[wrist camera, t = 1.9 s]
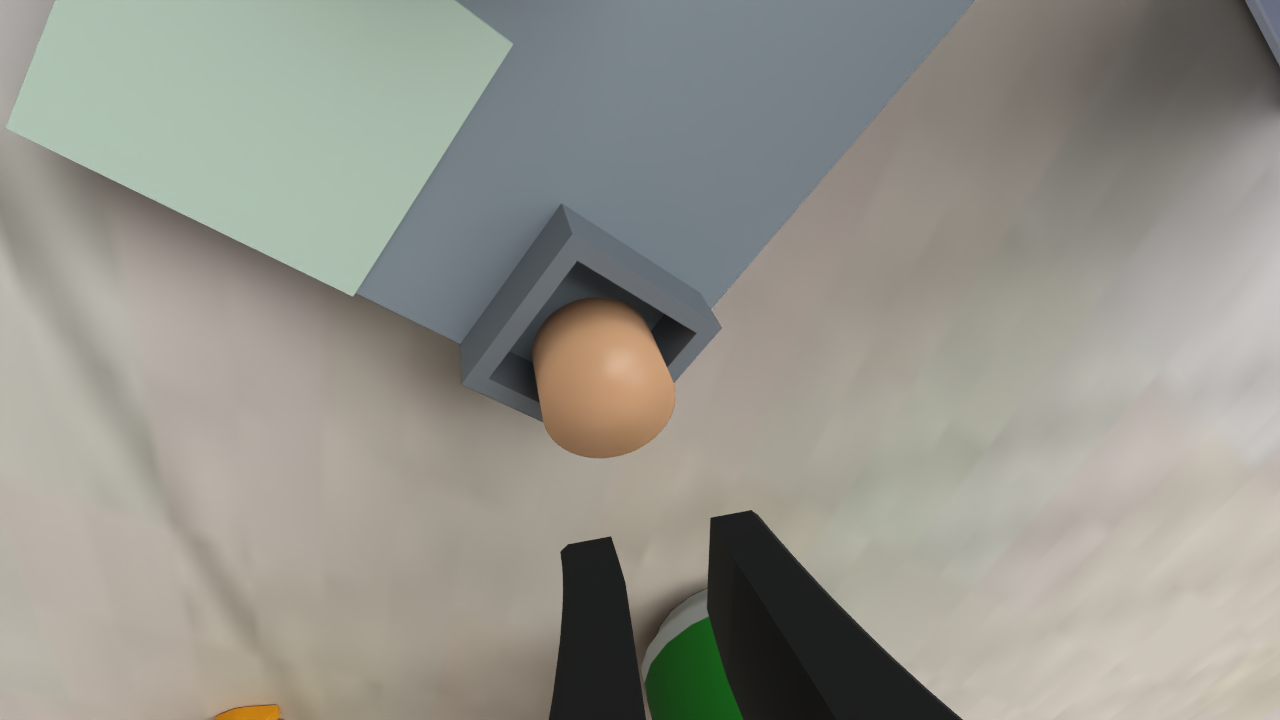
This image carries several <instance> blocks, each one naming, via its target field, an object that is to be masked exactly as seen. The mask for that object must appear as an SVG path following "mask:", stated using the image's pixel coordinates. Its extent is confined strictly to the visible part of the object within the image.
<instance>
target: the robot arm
mask: <svg viewBox="0 0 1280 720" xmlns="http://www.w3.org/2000/svg"><path fill="white" fill-rule="evenodd" d="M1245 1H1246V3H1247V5H1248V7H1249V9H1250V11H1251V13H1252V14H1253V16H1254V18H1255V20H1256V22H1257V24H1258V26H1259V28H1260V30H1261V32H1262V33H1263V35H1264V37H1265V39H1266V41H1267V43H1268V45H1269V47H1270V49H1271V51H1272V52H1273V54H1274V56H1275V58H1276V60H1277V62H1278V64H1279V66H1280V0H1245ZM561 560H562V569H563V609H562V623H561V636H560V646H559V653H558V661H557V669H556V676H555V684H554V692H553V698H552V704H551V710H550V716H549V720H646V717H645V710H644V704H643V697H642V691H641V684H640V677H639V671H638V664H637V657H636V651H635V644H634V637H633V631H632V624H631V618H630V611H629V604H628V598H627V591H626V585H625V580H624V577H623V573H622V570H621V567H620V563H619V560H618V557H617V554H616V551H615V547H614V544H613V541H612V538H611V537H606V538H600V539H595V540H590V541H584V542H579V543H573V544H568V545H567V546H566V547H565V548H564V549H563V550H562V551H561ZM707 611H708V615H709V619H710V622H711V626H712V629H713V633H714V636H715V640H716V644H717V647H718V651H719V654H720V657H721V661H722V664H723V667H724V671H725V674H726V678H727V680H728V683H729V685H730V688H731V690H732V693H733V695H734V698H735V700H736V703H737V705H738V708H739V710H740V713H741V715H742V718H743V720H963V719H961V718H960V717H959V716H958V715H957V714H955V713H954V712H953V711H952V710H951V709H950V708H948V707H947V706H946V705H945V704H944V703H943V702H941V701H940V700H939V699H938V698H937V697H936V696H935V695H933V694H932V693H931V692H930V691H929V690H928V689H927V688H925V687H924V686H923V685H922V684H921V683H920V682H919V681H918V680H917V679H916V678H915V677H913V676H912V675H911V674H910V673H909V672H908V671H907V670H906V669H905V668H904V667H902V666H901V665H900V664H899V663H898V662H897V661H896V660H895V659H894V658H893V657H892V656H891V655H890V654H888V653H887V652H886V651H885V650H884V649H883V648H882V647H881V646H880V645H879V644H878V643H877V642H876V641H875V640H874V639H873V638H872V637H871V636H870V635H869V634H868V633H867V632H866V631H865V630H864V629H863V628H862V627H861V626H860V625H859V624H858V623H857V622H856V621H855V620H854V619H853V618H852V617H851V616H850V615H849V614H848V613H847V612H846V611H845V610H844V609H843V608H842V607H841V606H840V605H839V604H838V603H837V602H836V601H835V600H834V599H833V598H832V597H831V596H830V595H829V594H828V593H827V592H826V591H825V590H824V589H823V588H822V587H821V586H820V584H819V583H818V582H817V581H816V580H815V579H814V578H813V577H812V576H811V575H810V574H809V573H808V571H807V570H806V569H805V568H804V567H803V566H802V565H801V564H800V563H799V562H798V561H797V559H796V558H795V557H794V556H793V555H792V554H791V553H790V552H789V551H788V549H787V548H786V547H785V546H784V545H783V544H782V543H781V541H780V540H779V539H778V538H777V537H776V536H775V534H774V533H773V532H772V531H771V530H770V529H769V528H768V526H767V525H766V524H765V523H764V522H763V520H762V519H761V518H760V517H759V516H758V515H757V514H756V513H754V512H753V511H752V510H750V511H745V512H739V513H734V514H729V515H723V516H718V517H713V518H711V521H710V545H709V569H708V592H707Z"/></svg>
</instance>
